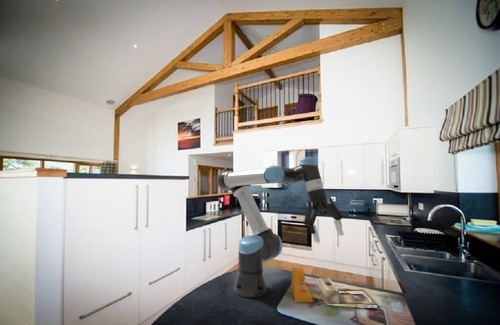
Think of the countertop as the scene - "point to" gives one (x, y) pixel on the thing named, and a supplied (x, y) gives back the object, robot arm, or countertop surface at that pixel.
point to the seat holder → (332, 293)
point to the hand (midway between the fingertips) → (329, 238)
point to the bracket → (300, 286)
